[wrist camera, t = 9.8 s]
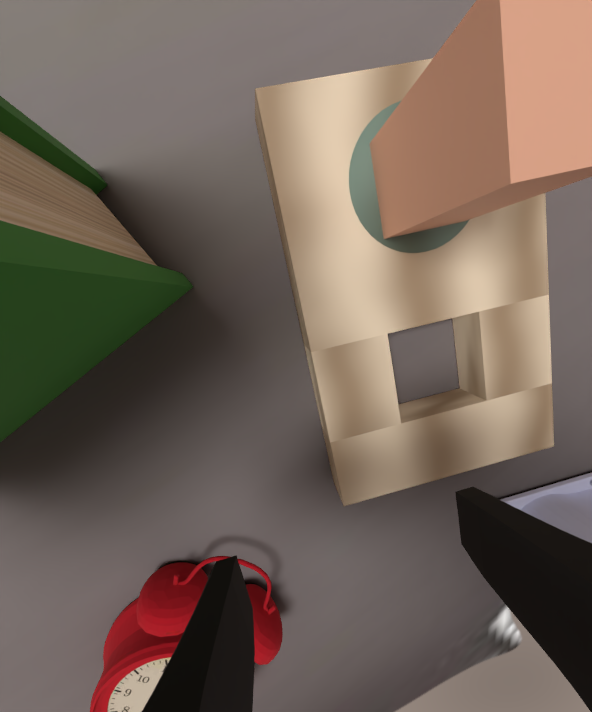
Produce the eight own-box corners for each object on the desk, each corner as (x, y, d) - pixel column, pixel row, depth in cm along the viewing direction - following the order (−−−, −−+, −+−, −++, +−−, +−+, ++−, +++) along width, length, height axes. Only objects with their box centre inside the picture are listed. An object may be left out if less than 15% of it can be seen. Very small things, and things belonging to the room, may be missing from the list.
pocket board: (499, 76, 17) (541, 38, 15) (521, 429, 22) (555, 447, 19) (255, 119, 16) (255, 87, 14) (333, 481, 21) (344, 507, 18)
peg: (455, 126, 15) (670, -55, 7) (463, 221, 16) (662, 151, 8) (369, 143, 15) (497, -29, 7) (383, 239, 16) (510, 183, 8)
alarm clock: (43, 766, 18) (119, 639, 13) (102, 636, 24) (171, 514, 19) (206, 794, 20) (323, 693, 15) (224, 668, 26) (314, 566, 21)
